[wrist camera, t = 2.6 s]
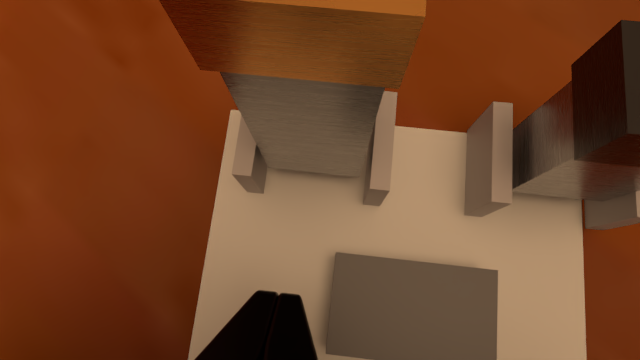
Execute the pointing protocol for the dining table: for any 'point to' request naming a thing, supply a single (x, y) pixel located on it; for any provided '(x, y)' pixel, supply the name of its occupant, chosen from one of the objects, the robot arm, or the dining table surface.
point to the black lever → (586, 127)
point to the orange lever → (304, 70)
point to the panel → (406, 247)
